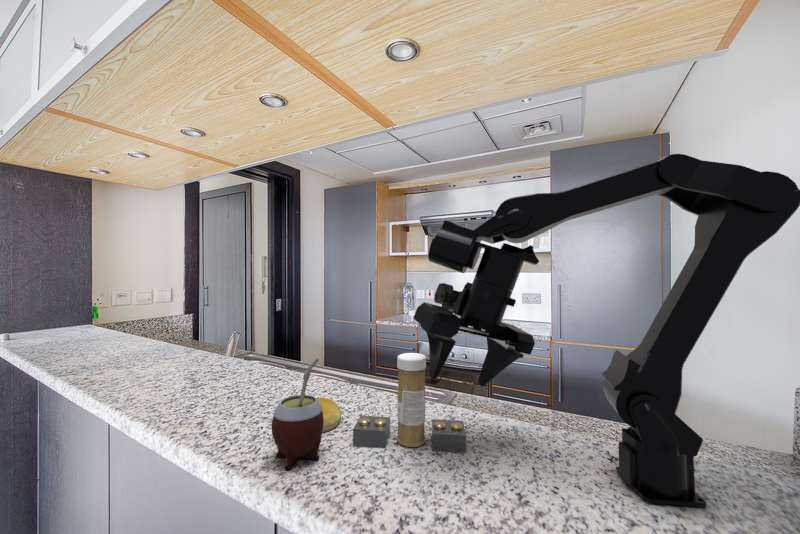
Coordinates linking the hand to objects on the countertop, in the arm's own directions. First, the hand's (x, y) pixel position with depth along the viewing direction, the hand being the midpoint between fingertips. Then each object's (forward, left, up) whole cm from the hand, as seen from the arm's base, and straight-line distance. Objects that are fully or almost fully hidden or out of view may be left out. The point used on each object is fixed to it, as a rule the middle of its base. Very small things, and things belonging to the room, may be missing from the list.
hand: (457, 381), depth 48 cm
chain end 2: (+1, -2, -10) cm, 10 cm away
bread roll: (+24, -7, -11) cm, 27 cm away
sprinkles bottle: (+7, -2, -10) cm, 13 cm away
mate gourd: (+22, +5, -10) cm, 25 cm away
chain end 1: (+13, -2, -10) cm, 17 cm away
